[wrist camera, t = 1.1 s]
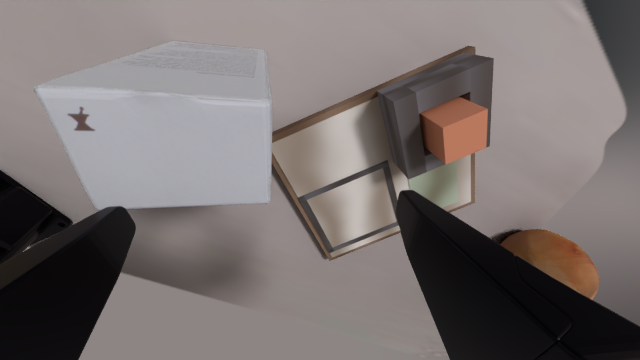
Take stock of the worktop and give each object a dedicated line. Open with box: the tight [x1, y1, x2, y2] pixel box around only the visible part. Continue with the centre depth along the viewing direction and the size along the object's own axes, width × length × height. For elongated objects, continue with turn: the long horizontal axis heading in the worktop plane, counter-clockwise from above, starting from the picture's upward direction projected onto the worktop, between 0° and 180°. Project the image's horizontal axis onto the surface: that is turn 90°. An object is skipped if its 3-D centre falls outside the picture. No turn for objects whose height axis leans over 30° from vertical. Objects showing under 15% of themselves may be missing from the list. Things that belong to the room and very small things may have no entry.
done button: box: [419, 97, 488, 164], centre depth 18 cm, size 3×3×3 cm
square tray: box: [272, 46, 494, 261], centre depth 23 cm, size 18×17×4 cm
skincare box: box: [34, 41, 272, 210], centre depth 13 cm, size 6×4×12 cm
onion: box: [500, 229, 599, 300], centre depth 31 cm, size 10×10×10 cm
